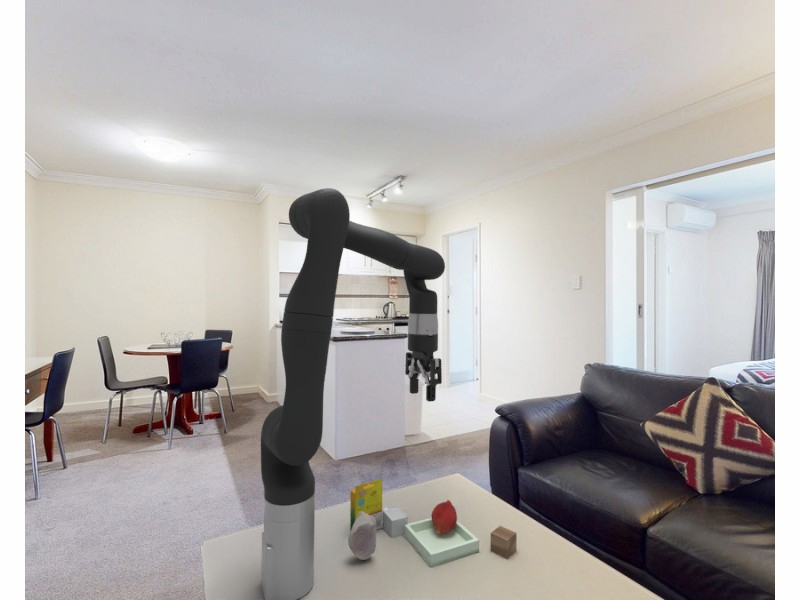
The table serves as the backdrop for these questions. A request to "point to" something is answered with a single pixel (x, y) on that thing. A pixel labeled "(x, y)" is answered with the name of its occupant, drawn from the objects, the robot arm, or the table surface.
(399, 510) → the grey block
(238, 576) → the table surface
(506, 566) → the table surface
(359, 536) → the fossil
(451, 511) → the onion
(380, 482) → the crayon box
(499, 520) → the table surface
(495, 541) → the walnut block
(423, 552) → the dish
